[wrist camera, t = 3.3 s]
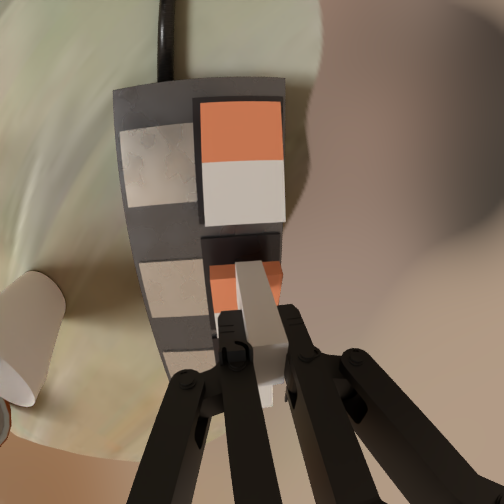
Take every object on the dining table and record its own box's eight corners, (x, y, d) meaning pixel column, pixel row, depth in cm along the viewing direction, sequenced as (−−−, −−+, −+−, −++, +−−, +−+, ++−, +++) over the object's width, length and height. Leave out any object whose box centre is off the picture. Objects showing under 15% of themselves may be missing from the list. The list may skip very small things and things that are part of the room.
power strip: (135, -28, 12) (120, -54, 7) (270, -36, 13) (284, -64, 9) (176, 371, 31) (175, 405, 27) (266, 365, 33) (274, 398, 28)
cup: (50, 251, 22) (-13, 332, 12) (89, 322, 27) (55, 411, 16) (1, 269, 22) (-54, 337, 11) (37, 330, 26) (1, 404, 16)
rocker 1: (201, 108, 15) (200, 103, 14) (276, 107, 16) (280, 101, 14) (205, 223, 17) (205, 226, 15) (280, 219, 17) (285, 221, 16)
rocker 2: (209, 265, 18) (209, 279, 17) (279, 260, 18) (283, 274, 18) (216, 325, 23) (217, 338, 22) (270, 321, 23) (273, 333, 22)
